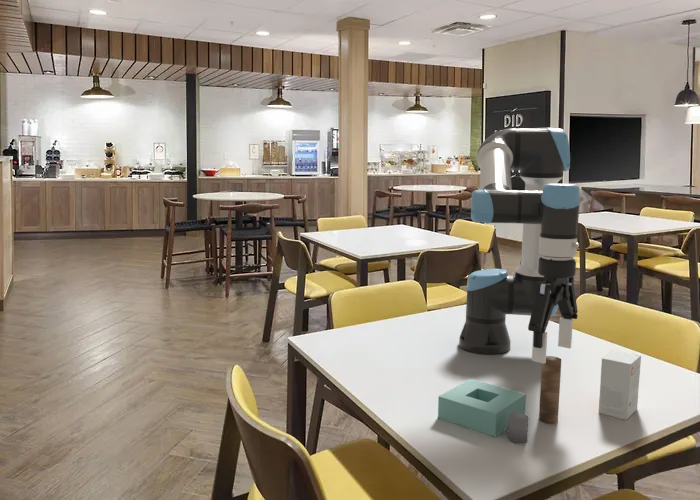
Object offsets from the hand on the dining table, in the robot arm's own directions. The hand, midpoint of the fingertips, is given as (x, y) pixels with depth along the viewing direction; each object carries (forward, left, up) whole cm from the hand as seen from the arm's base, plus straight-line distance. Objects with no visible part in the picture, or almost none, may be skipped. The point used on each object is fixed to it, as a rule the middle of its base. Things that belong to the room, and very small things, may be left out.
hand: (552, 354), depth 135 cm
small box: (+10, +15, -15) cm, 24 cm away
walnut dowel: (0, 0, -15) cm, 15 cm away
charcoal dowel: (-1, -13, -15) cm, 20 cm away
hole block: (-12, -8, -15) cm, 21 cm away
